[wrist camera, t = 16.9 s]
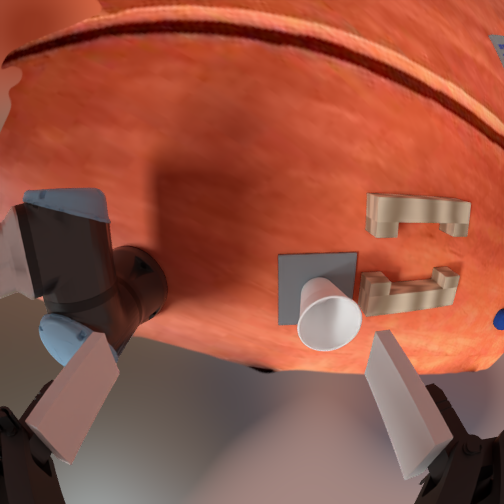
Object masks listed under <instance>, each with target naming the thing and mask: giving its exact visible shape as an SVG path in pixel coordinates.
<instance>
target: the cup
mask: <svg viewBox="0 0 504 504" xmlns="http://www.w3.org/2000/svg"><path fill="white" fill-rule="evenodd" d="M361 323H362V313H361V309H360V308H359V306H358V304H357V303H356V302H355V301H354V300H352V299H350V298H348V297H347V296H346V295H345V294H344V293H343V292H342V291H340V290H339V289H338V288H337V287H336V286H335V285H334V284H333V283H332V282H331V281H329V280H328V279H326V278H322V277H317V278H313V279H311V280H309V281H308V282H307V283H305V285H304V286H303V288H302V291H301V304H300V318H299V321H298V327H297V330H298V335H299V337H300V339H301V341H302V342H303V343H304V344H305V345H306V346H308V347H309V348H311V349H314V350H318V351H331V350H335V349H338V348H340V347H342V346H344V345H346V344H347V343H349V342H350V341H351V340H352V339H353V338H354V337H355V336H356V334H357V333H358V331H359V329H360V327H361Z"/></svg>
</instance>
